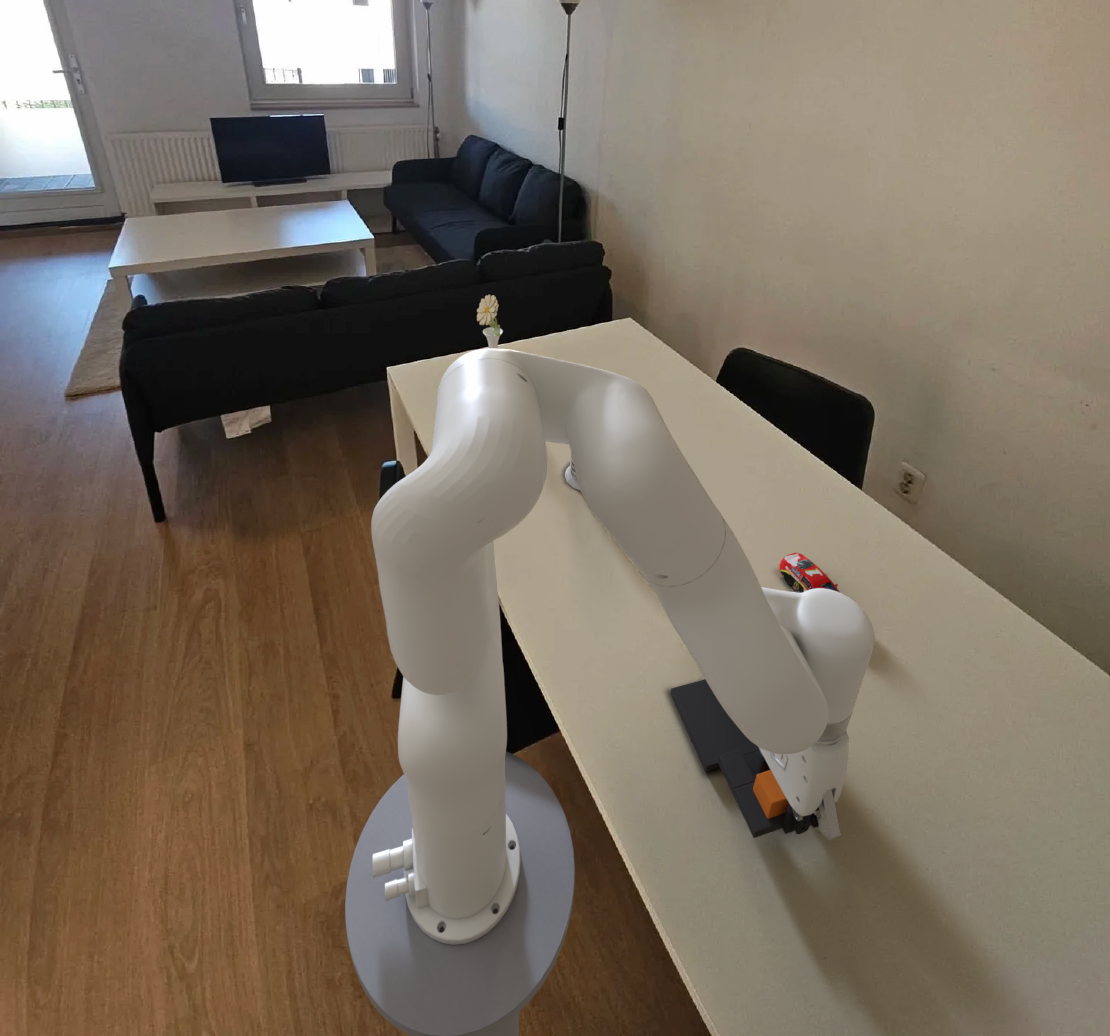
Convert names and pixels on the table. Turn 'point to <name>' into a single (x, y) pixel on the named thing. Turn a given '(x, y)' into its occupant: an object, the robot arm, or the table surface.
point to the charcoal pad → (711, 726)
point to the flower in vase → (489, 320)
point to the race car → (804, 574)
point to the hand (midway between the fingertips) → (781, 800)
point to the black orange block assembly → (754, 794)
